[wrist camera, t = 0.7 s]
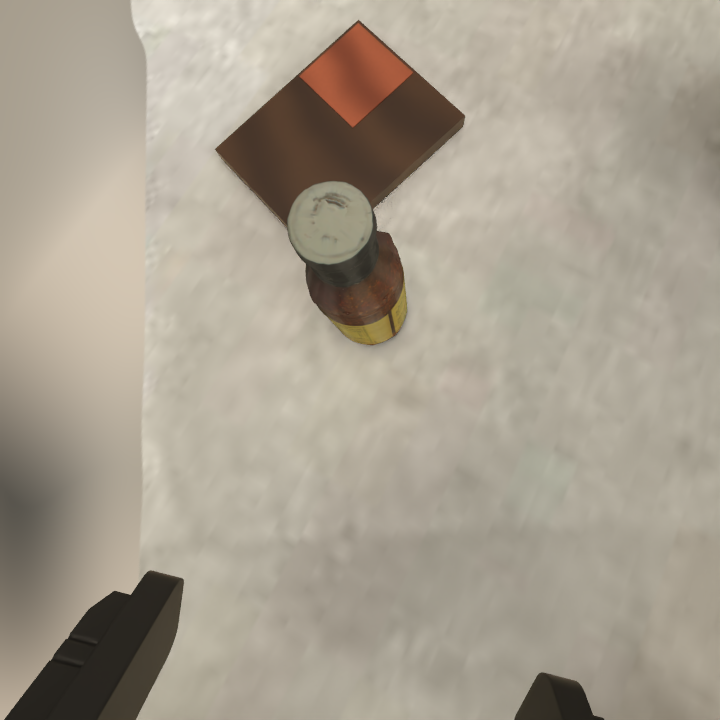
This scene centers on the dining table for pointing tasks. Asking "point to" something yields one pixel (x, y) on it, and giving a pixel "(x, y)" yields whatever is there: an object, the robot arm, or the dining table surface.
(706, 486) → the dining table surface
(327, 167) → the walnut board
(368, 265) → the sauce bottle
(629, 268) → the dining table surface
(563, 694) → the robot arm
